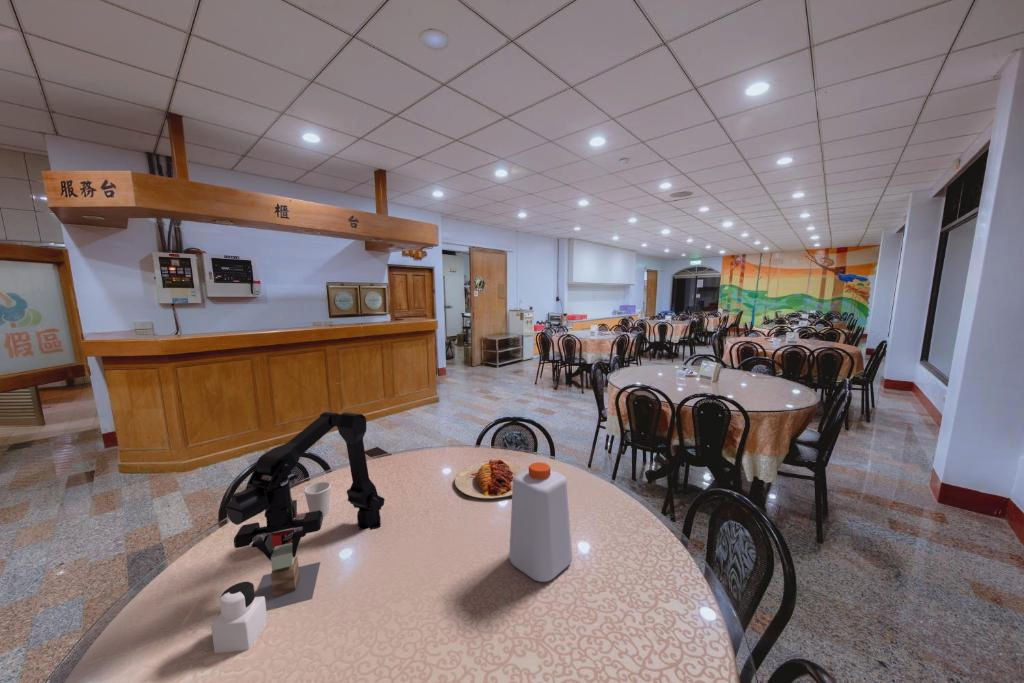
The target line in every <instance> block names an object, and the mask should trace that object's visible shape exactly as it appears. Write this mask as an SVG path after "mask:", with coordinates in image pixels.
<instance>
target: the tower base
mask: <svg viewBox="0 0 1024 683" xmlns="http://www.w3.org/2000/svg"><path fill="white" fill-rule="evenodd" d="M299 567H300V566H298V570H297V573H296V577H295V580H292V581H288V582H284V583H280V584H276V585H272V592H273V596H277V595H281V594H285V593H289V592H293V591H296V587H297V584H298V580H299Z"/></svg>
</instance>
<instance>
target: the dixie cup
mask: <svg viewBox="0 0 1024 683" xmlns="http://www.w3.org/2000/svg"><path fill="white" fill-rule="evenodd" d="M331 486H332V485H331V483H330V482H328V481H318V482H314V483H312V484H310V485H308V486H306V487H305V488H304V490H303V493H304V496H305V499H306V503H307V508H308V511H309V512H314V511H319V510H320V511H321V512H322V513H323V518H324V517H326V516H327V515H328V514H329V513H330V512H329V510H330V509H329V508H330V495H331V493H330V492H331Z"/></svg>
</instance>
